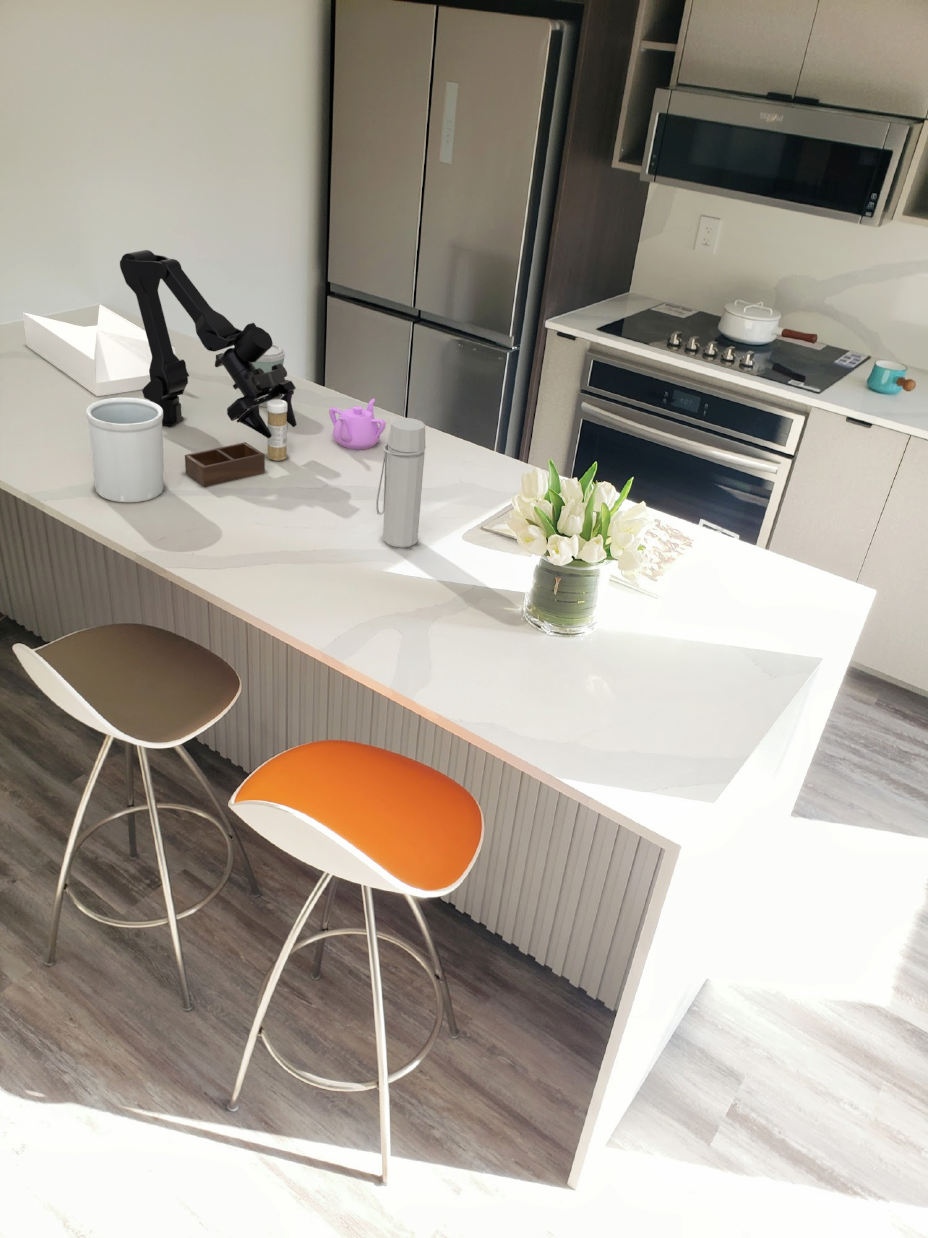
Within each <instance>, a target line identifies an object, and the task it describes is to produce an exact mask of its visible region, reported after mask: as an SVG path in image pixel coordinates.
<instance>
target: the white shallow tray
mask: <svg viewBox="0 0 928 1238" xmlns="http://www.w3.org/2000/svg"><path fill="white" fill-rule="evenodd" d="M22 321H23V328H24V335H25V343H26V347H28V348H29V349H30V350H31V351H33V352H35V353H36V354H38V356H40V357H42V358H43V359H44V360H46V361H47V362H48V363H50V364H51V365H52V366H54V367H55V368H57V369H58V370H59V371H61V372H62V373H64V374H65V375H66V376H68V377H69V378H71V379H72V380H73V381H75V382H76V383H78V384H79V385H80V386H82V387H83V388H85V389H86V390H88V391H89V392H90V393H91V394H93V395H95V396H96V397H103V396H109V395H115V394H121V393H128V392H134V391H140V390H141V391H142V389H143V388H144V387H145V386H146V385H147V384H148V383H149V382H150V374H149V369H150V364H151V360H152V354H151V350H150V347H149V343H148V339H147V335H146V331H145V329H144V328H142V327H140V326H138V325H136V324H134V323H133V322H130V321H129V320H127V319H126V318H125V317H123V316H121V315H119V314H117V313H116V312H114V311H113V310H110V309H109V308H108V307H106V306H104V305H102V304H99V308H98V317H97V324H96V325H89V326H82V325H77V324H72V323H69V322H65V321H60V320H58V319H57V320H56V319H52V318H48V317H44V316H40V315H36V314H32V313H27V312H22ZM172 350H173V353H174V354H175V356H176V357H177V350H176V348H175V347H174V346H172Z"/></svg>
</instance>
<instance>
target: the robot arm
mask: <svg viewBox="0 0 928 1238" xmlns="http://www.w3.org/2000/svg"><path fill="white" fill-rule="evenodd" d="M119 268H120V271H121V274H122V276H123V279H124V282H125V284H126V285H127V286H128V287H129V288H130V290H131V291H132V292H133V293H134V294H135V296H136V300H137V304H138V308H139V311H140V315H141V319H142V323H143V327H144V331H146V335H147V339H148V343H149V347H150V350H151V354H152V360H151V364H150V369H149V374H150V382H149V383H148V384H147V385H146V386H145V387H144V388H143V389H141V392H142V395H143V398H144V400H148V401H151V402H154V403H156V404H158V405H159V406H160V407H161V408H162V409H163V419H162V426H164V427H173V426H175V425H176V424H178V423H179V422H181V421H182V420H183V419H184V416H183V414H182V403H181V402H180V396H181V395H184V393H185V389H186V387H187V385H188V384H189V378H188V377H190V374H189V373H188V370H187V365H186V361H185V359H179V357H178V356H177V355H176V356H175V354H174V353H173V350H172V347H173V346H172V342H171V338H170V333H169V331H168V330H169V329H168V326H167V322H166V319H165V314H164V311H163V305H162V302H161V298H160V295H159V286H160V283H161V281H163V283H164V284H165V285H166V287H167V288H168V290H169V291H170V292H171V293H172V294H173V296H174V297H175V298H176V300H177V301H178V303H179V304H180V305H181V306H182V308H183V309H184V311H185V312H186V313H187V314H188V315H189V317H190V319H191V320H192V321H193V323H194V327H195V333H196V335H197V337H198V339H199V340H200V342H201V344H202V346H203V347H204V349H206V350H207V351H209V352H219V351H221V350H224V349H226V350H225V351H224V352H220V353H217V354H216V355H215V360H214V367H215V368H220V367H224V369H225V371H226V372H227V373H228V374H229V376H230V378H231V379H232V381H233V383H234V384H233V385H232V388H233V389H234V391H235V390H239V391H240V392H241V394H242V396H241V397H239V398H237V399H236V400H235V401H234V402H232V404H231V405H229V406H228V407H227V408H226V415H227V416H228V418H229V420H230V421H231V422H234V421H236V423H240V424H243V425H244V426H246V427H248V428H250V429H251V430H254V431H256V432H257V433H258V434H261V436H263V437H265V438H270V437H271V436H272V435H271V433H270V431H269V429H268V425H267V424H266V423H265V421H264V419H263V417H262V416H261V414H260V406H259V405H260V404H262V403H265V402H267V401H269V400H273V399H280V400H284V401H286V402H287V413H286V414H287V424H289V425H290V426H291V427H292V428H295V427H296V426H297V425H298V424H297V421H296V417H295V414H294V410H293V406H292V398H293V395H294V394H295V390H296V389H297V388H296V386H295V384H294V382H292V380H289V379H286V377H288V371H287V369H286V367H284V364H283V365H282V364H281V363H280V364H276V365H274V366H272V371H269V372H265V373H264V371H263V370H262V369H260V368H258V369H256V368H255V367H254V365H253V364H252V362H256V361H257V360H258V359H259V358H260V357H262V356H263V355H264V354H265V353H266V352H267V351H268V350H269V349H270V348H271V347H272V344H273V343H274V342H273V338H272V337H271V335H270V333H269V332H267V331H266V330H264V328H261V327H260V326H257V325H256V324H255V322H251V323H248V324H246V325H245V327H244V328H243V329H242V330H241V329H239V328H237V327H235V325H233V323H232V322H231V321H230V320H229V319H228V318H226V316H225V315H223V314H221V313H219V312H218V311H216V310H215V309H213V308H212V307H211V305H210V304H209V303H208V301H207V300H206V299H205V298H204V296H203V295H202V294H201V292H200V291H199V290H198V288H197V287H196V286H195V284H194V283H193V282H192V280H191V279H190V278H189V277H188V275H187V274H186V273H185V271H184V269H183V268H182V265H181V263H180V261H178V259H175V258H169V257H168V256H165V255H160V254H155V253H153V252H152V251H151V250H149V249H144V250H138V251H133V252H127V253H124V254H123V255H122V256H121V259H120V260H119ZM270 389H271V390H270ZM257 400H259V401H257Z"/></svg>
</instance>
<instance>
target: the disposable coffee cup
mask: <svg viewBox="0 0 928 1238" xmlns="http://www.w3.org/2000/svg"><path fill="white" fill-rule="evenodd" d="M272 343H273V344H272V347H271V348H270V349H269V350H268V351H267V352H266V353H265V354H264V355H263V356H262V357H260V358H259V359H258V360H257V361H256V362H252V364H253V365H254V367H255V368H256V369H258V368H260V369H262V370H263V371H264V373H265V372H269V371H272V366H274V365H276V364H280V363H281V364H282V365H283V366H284V363H285V362H284V361H285V357H286V355H285V350H284V349H283V347H282V346H280V345H279V344H277V343H275V342H272ZM270 390H271V389H270ZM257 401H259V400H257ZM267 402H268V401H267ZM267 402H265V403H262V404H260V405H259V407H263V408H267Z"/></svg>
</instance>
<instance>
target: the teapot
mask: <svg viewBox="0 0 928 1238" xmlns="http://www.w3.org/2000/svg"><path fill="white" fill-rule="evenodd" d="M375 401H376V399H375V398H371V399H370V400H369V401H368V403H367V406H366V409H365V408H363V407H362V406H359V405H356V406H353V407H352V408H347V409H345V410H343V411H342V409H339V408H338V407H330V408H329V410H328V413H329V417H330V420H331V422H332V425H333V428H332V429H333V430H332V437H333V439H334V440H335V442H336V443H337V444H338V445H339V446H341V447H343V448H346V449H350V450H367V449H372V448H373V447H374V446H375V445H376V444H377V443H378V442H379V441H380V439H381V435H382V433H383V432H384V431H385V429H386V427H387V426H386V425H387V422H386V421H385V420H384V419H381V418H375V413H374V412H375V411H374V404H375ZM336 414H338V415H339V416H338V417H336Z"/></svg>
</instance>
